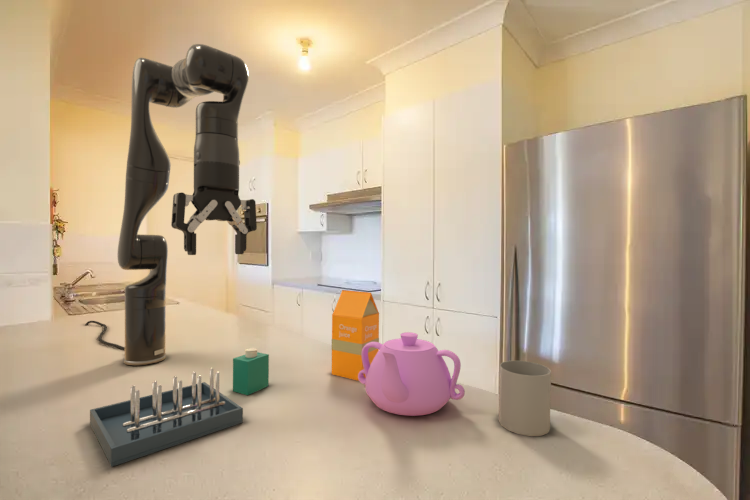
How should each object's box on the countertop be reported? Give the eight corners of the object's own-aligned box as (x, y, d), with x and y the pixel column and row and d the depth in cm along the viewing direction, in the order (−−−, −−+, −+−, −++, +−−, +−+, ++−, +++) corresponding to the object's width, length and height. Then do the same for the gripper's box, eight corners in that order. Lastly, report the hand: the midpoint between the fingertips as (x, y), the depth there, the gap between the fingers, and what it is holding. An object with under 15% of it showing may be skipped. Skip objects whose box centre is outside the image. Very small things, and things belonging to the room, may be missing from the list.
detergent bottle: (232, 391, 81) (232, 351, 80) (254, 382, 86) (254, 344, 86) (247, 395, 78) (247, 354, 78) (268, 386, 84) (268, 347, 84)
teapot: (327, 420, 68) (327, 343, 67) (373, 380, 88) (374, 320, 88) (451, 446, 59) (452, 358, 59) (470, 395, 79) (471, 329, 79)
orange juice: (361, 381, 87) (362, 294, 87) (330, 374, 92) (331, 291, 91) (379, 372, 94) (380, 290, 93) (349, 365, 98) (350, 288, 98)
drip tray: (89, 424, 65) (89, 409, 65) (204, 394, 79) (204, 381, 79) (111, 467, 53) (111, 448, 53) (242, 422, 67) (242, 407, 66)
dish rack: (122, 442, 58) (122, 386, 58) (218, 413, 68) (218, 365, 68) (127, 451, 56) (127, 392, 56) (225, 419, 66) (226, 370, 66)
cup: (547, 418, 70) (548, 363, 70) (552, 439, 62) (553, 378, 62) (499, 410, 72) (499, 358, 72) (498, 430, 65) (499, 372, 64)
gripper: (245, 172, 76) (244, 253, 76) (166, 160, 66) (166, 254, 66) (263, 167, 70) (263, 254, 71) (181, 153, 60) (181, 255, 61)
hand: (216, 254), depth 68 cm, fingers open, 8 cm apart
